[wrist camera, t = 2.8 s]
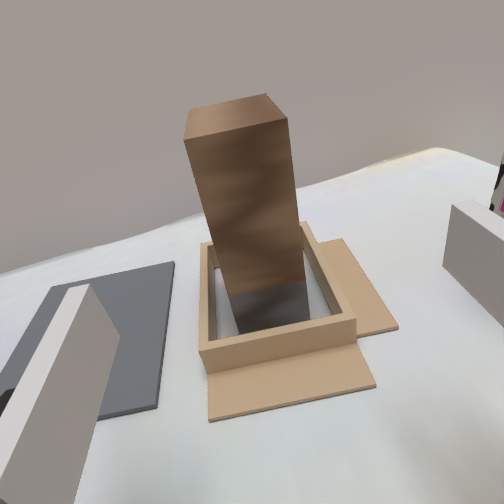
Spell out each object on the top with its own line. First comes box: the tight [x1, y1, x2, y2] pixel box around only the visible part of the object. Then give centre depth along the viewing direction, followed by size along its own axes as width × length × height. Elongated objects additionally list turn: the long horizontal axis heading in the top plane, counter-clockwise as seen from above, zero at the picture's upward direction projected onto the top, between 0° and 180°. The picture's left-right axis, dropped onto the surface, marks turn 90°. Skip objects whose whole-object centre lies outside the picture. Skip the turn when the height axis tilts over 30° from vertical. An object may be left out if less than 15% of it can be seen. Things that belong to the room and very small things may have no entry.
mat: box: [0, 261, 175, 420], centre depth 27 cm, size 12×15×1 cm
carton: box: [199, 221, 399, 422], centre depth 26 cm, size 13×18×2 cm
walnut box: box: [184, 94, 310, 335], centre depth 23 cm, size 5×7×14 cm
